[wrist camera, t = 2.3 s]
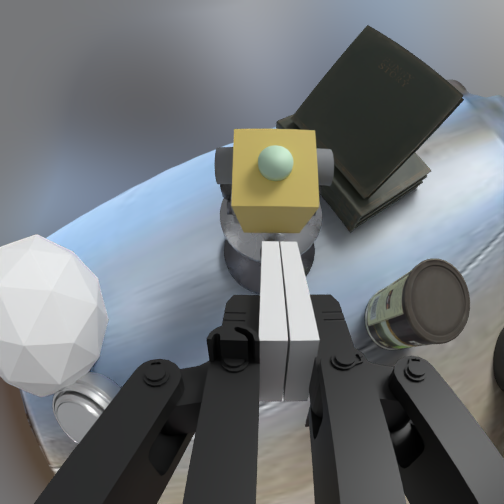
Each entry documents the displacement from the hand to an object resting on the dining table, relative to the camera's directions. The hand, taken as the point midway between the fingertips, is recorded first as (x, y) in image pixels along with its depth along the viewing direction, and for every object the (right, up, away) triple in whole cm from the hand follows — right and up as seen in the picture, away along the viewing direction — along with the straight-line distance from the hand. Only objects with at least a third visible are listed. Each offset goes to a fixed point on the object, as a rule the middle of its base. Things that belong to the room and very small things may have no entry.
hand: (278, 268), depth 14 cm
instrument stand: (+1, +1, +32) cm, 32 cm away
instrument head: (+1, +6, +19) cm, 20 cm away
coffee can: (+21, -10, +28) cm, 36 cm away
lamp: (-29, -16, +27) cm, 43 cm away
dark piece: (+18, +18, +38) cm, 46 cm away
